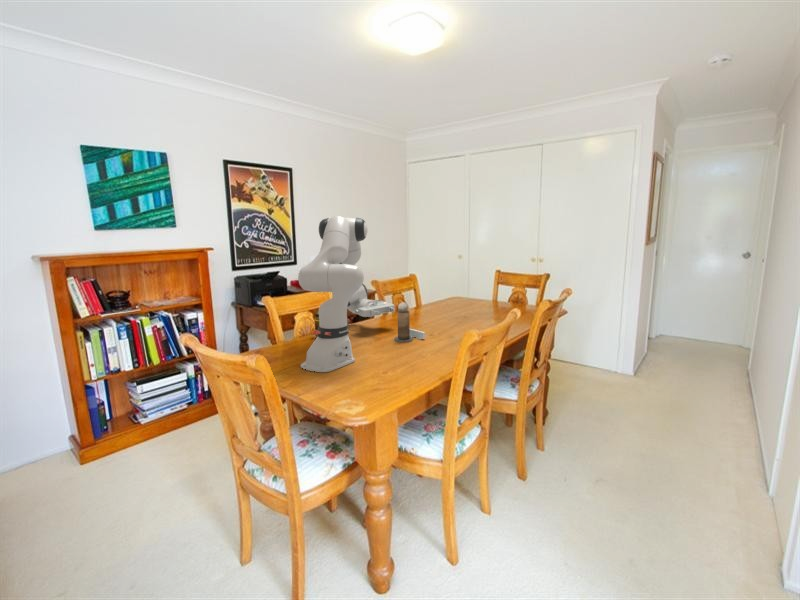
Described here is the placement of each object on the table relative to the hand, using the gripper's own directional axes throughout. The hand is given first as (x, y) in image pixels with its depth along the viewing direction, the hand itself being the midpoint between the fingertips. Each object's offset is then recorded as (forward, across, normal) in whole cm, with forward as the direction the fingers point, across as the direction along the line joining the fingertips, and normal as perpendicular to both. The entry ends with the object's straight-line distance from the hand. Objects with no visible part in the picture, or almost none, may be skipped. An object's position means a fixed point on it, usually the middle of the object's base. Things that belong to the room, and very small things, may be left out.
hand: (386, 312), depth 195 cm
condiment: (-20, -24, +12) cm, 34 cm away
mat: (+12, 0, +12) cm, 17 cm away
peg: (+12, 0, +11) cm, 16 cm away
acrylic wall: (+12, +7, +12) cm, 18 cm away
